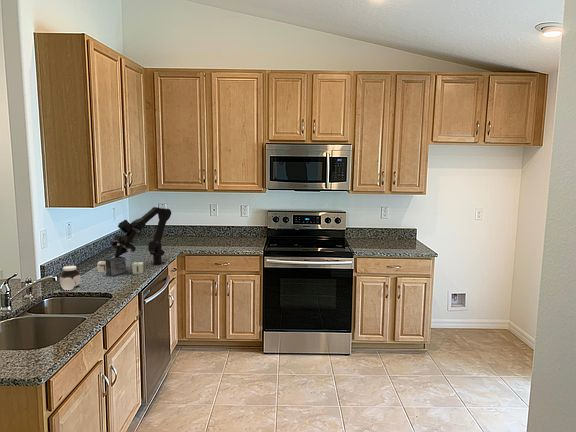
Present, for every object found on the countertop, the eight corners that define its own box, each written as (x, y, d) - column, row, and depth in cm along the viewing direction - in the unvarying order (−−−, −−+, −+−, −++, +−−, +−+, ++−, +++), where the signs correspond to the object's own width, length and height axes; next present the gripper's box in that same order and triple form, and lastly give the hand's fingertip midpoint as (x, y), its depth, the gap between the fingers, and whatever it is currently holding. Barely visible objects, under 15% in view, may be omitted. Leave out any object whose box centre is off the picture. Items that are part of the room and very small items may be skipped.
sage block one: (133, 271, 289) (133, 262, 289) (143, 271, 291) (143, 261, 290) (132, 274, 283) (132, 264, 282) (142, 273, 285) (142, 263, 284)
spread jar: (76, 284, 260) (75, 264, 259) (85, 287, 253) (84, 267, 252) (55, 288, 251) (53, 268, 250) (64, 292, 244) (62, 271, 243)
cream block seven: (99, 270, 292) (98, 261, 291) (109, 269, 293) (108, 260, 292) (97, 272, 286) (97, 263, 285) (107, 272, 287) (107, 262, 286)
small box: (121, 271, 288) (120, 255, 287) (126, 273, 284) (125, 257, 283) (105, 275, 280) (104, 258, 279) (111, 276, 276) (110, 260, 275)
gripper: (111, 228, 288) (97, 248, 280) (131, 231, 278) (117, 251, 270) (122, 238, 296) (109, 258, 288) (141, 241, 286) (128, 261, 278)
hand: (115, 257), depth 281 cm, fingers closed
